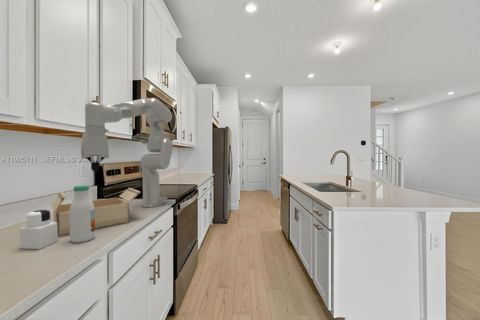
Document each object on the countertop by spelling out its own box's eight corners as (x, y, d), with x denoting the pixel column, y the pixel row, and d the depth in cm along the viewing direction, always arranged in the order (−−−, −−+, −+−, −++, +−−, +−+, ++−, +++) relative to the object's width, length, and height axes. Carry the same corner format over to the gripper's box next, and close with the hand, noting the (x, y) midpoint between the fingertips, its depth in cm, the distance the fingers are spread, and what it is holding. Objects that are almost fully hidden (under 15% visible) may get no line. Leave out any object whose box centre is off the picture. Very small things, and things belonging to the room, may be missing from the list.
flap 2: (119, 197, 117) (130, 188, 120) (129, 202, 105) (140, 192, 108) (118, 196, 117) (129, 187, 120) (128, 201, 104) (139, 191, 108)
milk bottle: (85, 243, 80) (84, 187, 79) (64, 243, 80) (62, 187, 79) (99, 235, 88) (98, 184, 87) (80, 235, 88) (78, 184, 87)
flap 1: (53, 205, 99) (62, 191, 101) (55, 212, 87) (65, 196, 89) (51, 204, 99) (60, 191, 101) (53, 211, 86) (63, 196, 88)
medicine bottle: (39, 240, 82) (38, 208, 82) (58, 241, 82) (57, 208, 82) (19, 249, 75) (18, 213, 75) (39, 249, 75) (38, 213, 75)
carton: (118, 214, 118) (117, 197, 118) (129, 222, 103) (129, 203, 103) (53, 225, 100) (53, 205, 100) (57, 237, 86) (56, 213, 86)
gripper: (111, 133, 110) (111, 170, 110) (73, 130, 100) (73, 171, 100) (115, 131, 104) (115, 171, 105) (76, 128, 94) (76, 172, 94)
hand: (95, 171), depth 102 cm, fingers closed
